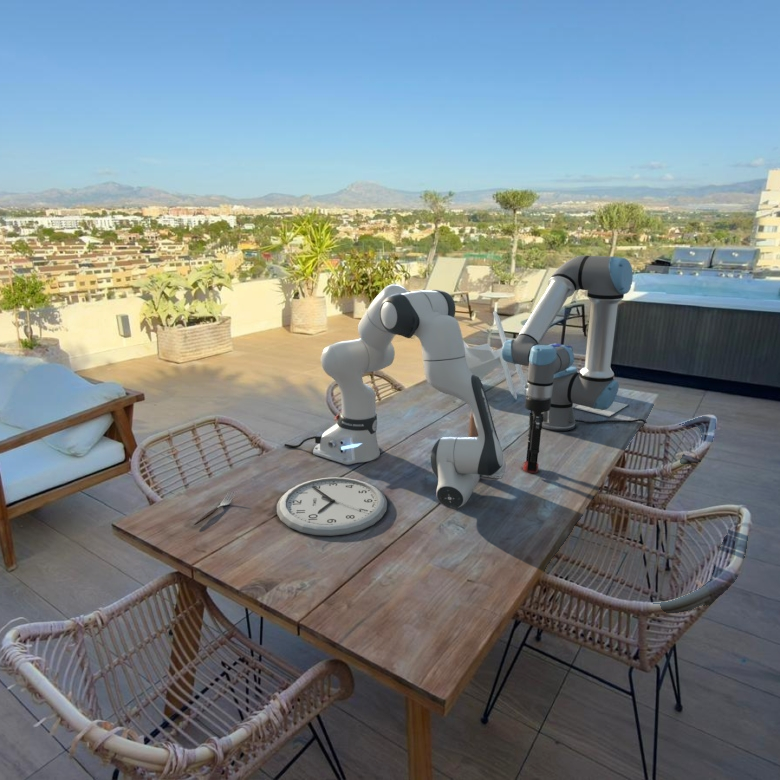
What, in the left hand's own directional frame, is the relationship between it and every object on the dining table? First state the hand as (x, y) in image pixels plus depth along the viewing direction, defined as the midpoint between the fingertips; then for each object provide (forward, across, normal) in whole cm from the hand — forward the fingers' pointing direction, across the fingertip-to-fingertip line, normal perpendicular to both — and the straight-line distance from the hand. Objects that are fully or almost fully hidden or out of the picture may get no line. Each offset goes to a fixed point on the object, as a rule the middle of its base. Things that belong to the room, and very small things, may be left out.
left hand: (475, 454), depth 160 cm
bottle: (-1, 0, +7) cm, 7 cm away
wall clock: (-34, +31, +7) cm, 47 cm away
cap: (+10, -16, +5) cm, 19 cm away
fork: (-50, +58, +7) cm, 77 cm away
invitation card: (+86, -36, +7) cm, 93 cm away
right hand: (+10, -16, +5) cm, 20 cm away
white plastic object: (+84, +17, +7) cm, 86 cm away
